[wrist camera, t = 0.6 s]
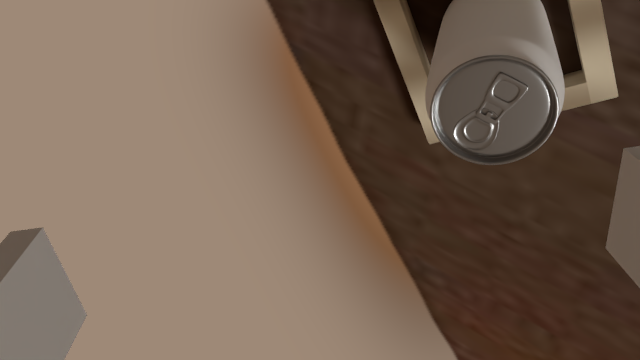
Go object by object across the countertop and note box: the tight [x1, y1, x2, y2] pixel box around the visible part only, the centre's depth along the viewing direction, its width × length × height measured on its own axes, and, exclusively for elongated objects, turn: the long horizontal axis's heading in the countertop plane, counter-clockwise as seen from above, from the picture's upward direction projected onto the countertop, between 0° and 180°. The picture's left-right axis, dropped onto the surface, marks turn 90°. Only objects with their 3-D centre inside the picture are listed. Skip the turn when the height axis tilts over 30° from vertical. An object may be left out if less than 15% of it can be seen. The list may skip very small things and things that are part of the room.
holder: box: [373, 0, 618, 144], centre depth 32 cm, size 12×12×2 cm
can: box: [425, 0, 565, 165], centre depth 28 cm, size 6×6×12 cm
